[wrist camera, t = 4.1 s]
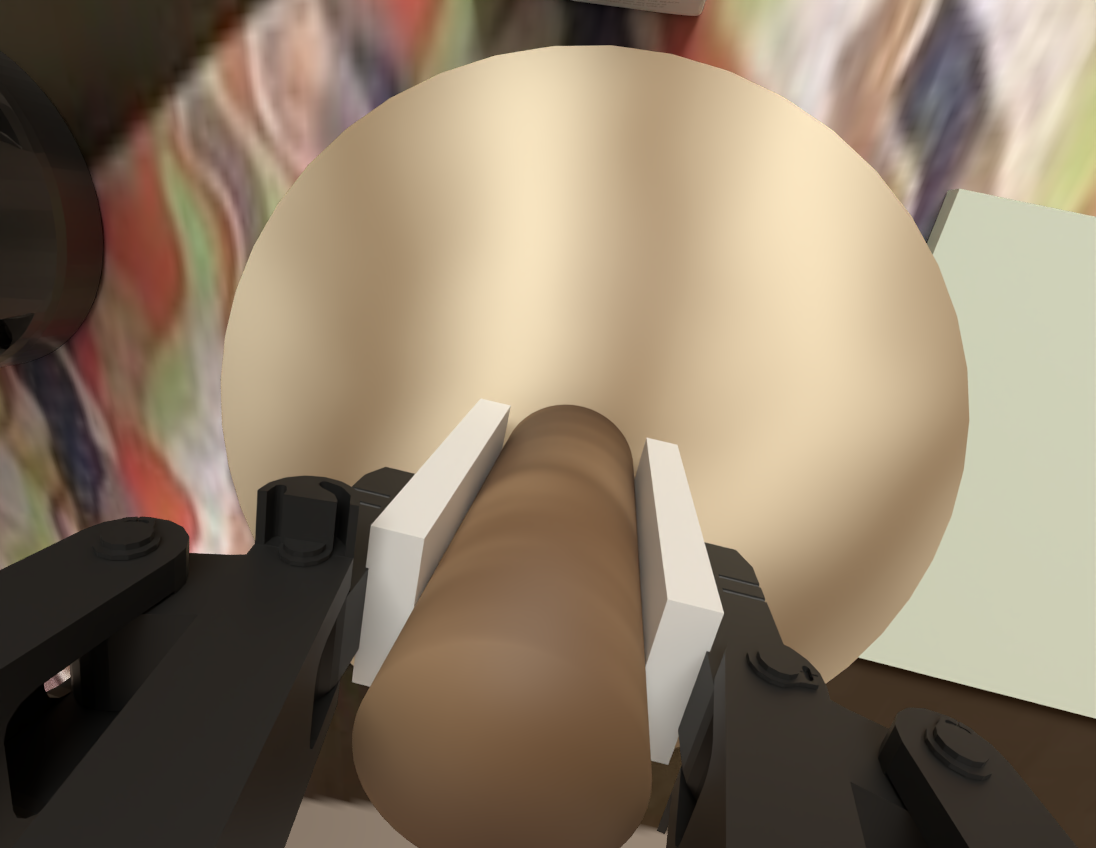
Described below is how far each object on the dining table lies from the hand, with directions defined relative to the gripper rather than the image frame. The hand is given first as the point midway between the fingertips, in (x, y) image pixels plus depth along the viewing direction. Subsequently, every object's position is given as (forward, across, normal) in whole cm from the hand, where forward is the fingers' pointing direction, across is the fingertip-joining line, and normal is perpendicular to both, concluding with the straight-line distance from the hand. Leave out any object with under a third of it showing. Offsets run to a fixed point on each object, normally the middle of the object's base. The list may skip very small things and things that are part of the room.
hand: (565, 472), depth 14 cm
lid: (+2, 0, 0) cm, 2 cm away
